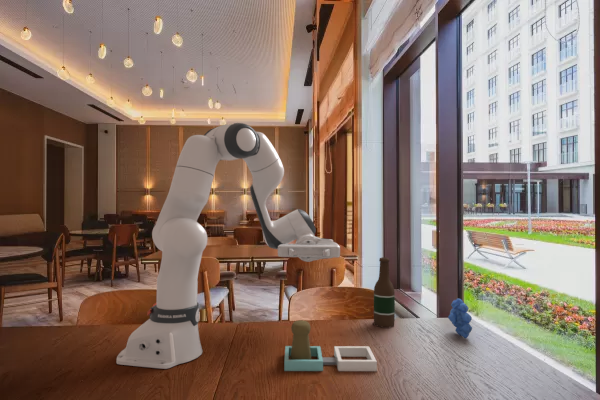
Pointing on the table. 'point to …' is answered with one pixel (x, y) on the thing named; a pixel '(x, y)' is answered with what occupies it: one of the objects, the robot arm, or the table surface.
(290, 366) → the teal socket
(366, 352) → the white socket
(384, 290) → the beer bottle
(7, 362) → the table surface
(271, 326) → the table surface
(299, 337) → the olive pawn
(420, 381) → the table surface
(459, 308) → the grapes
